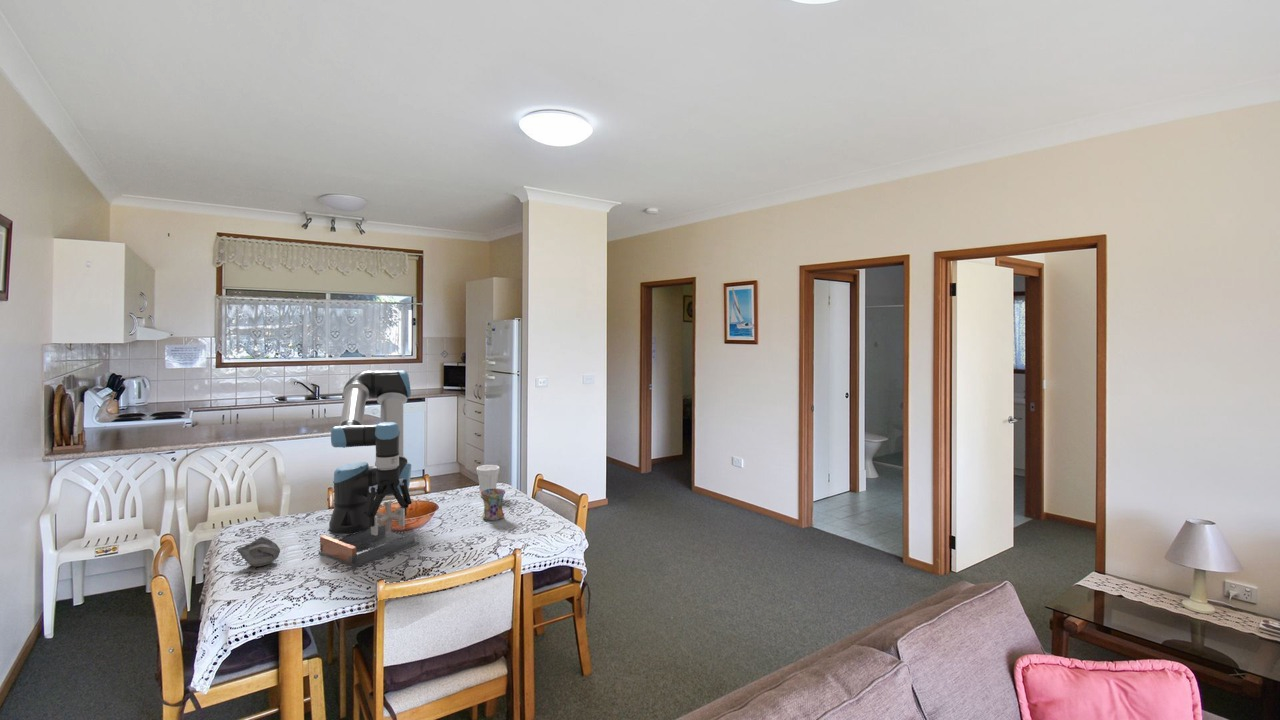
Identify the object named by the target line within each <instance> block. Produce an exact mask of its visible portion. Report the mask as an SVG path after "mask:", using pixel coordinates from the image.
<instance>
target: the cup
mask: <svg viewBox="0 0 1280 720" xmlns="http://www.w3.org/2000/svg"><path fill="white" fill-rule="evenodd" d="M500 470H501V469H500V466H499V465H496V464H483V465H479V466H477V467H476V474H477V478H478V484H479V491H480V497H481V498H483V497H482V495H481V492H482V491H483V490H486V489H494V488H497V485H498V478H499V473H500Z"/></svg>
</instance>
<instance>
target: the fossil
mask: <svg viewBox="0 0 1280 720" xmlns="http://www.w3.org/2000/svg"><path fill="white" fill-rule="evenodd" d="M237 552H238V553H239V554H240V556H241V558H242V559H244V560H245V562H246V563H247V564H248V565H250V566H252V567H262V566H263V567H264V566H267V565H269V564H272V563H273V562H275V561H276V560H277V559H278V558H279V556H280V554H281V553H280V552H281V549H280V547H279V545H278V544H277V543H276V542H275V541H272V540H271V539H270V538H268V537H266V536H259V537H258V538H256V539H255V540H253V541H251V542H250V543H248V544H246V545H244V546H241V547H238V548H237Z"/></svg>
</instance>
